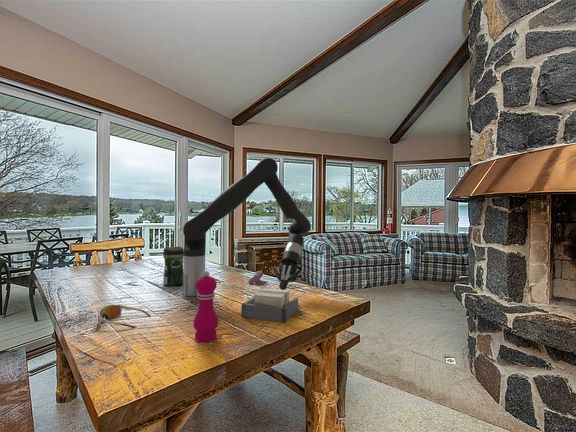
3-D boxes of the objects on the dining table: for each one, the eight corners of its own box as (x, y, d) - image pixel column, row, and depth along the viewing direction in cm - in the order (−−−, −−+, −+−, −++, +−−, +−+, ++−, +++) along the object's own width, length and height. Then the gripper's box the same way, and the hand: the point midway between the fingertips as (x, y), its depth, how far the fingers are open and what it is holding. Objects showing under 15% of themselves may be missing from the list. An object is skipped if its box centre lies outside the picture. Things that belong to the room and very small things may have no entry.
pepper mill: (196, 333, 100) (196, 268, 99) (219, 332, 100) (220, 268, 100) (190, 343, 92) (191, 273, 92) (216, 342, 93) (217, 273, 92)
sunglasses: (112, 314, 117) (114, 300, 116) (153, 321, 116) (155, 307, 116) (87, 329, 102) (89, 313, 102) (133, 337, 102) (135, 321, 102)
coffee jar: (180, 281, 167) (180, 245, 166) (186, 284, 160) (186, 247, 160) (161, 283, 161) (161, 246, 160) (166, 287, 155) (166, 248, 154)
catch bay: (285, 322, 110) (285, 309, 110) (241, 316, 115) (241, 304, 115) (297, 309, 124) (298, 297, 124) (258, 304, 129) (258, 293, 129)
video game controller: (255, 287, 162) (261, 275, 161) (247, 283, 162) (253, 271, 162) (260, 283, 171) (266, 271, 171) (252, 278, 172) (258, 267, 171)
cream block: (280, 320, 112) (280, 297, 112) (254, 317, 115) (254, 294, 115) (289, 311, 122) (289, 290, 122) (264, 308, 125) (264, 288, 125)
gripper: (275, 249, 142) (264, 283, 131) (304, 250, 138) (296, 286, 126) (279, 259, 147) (269, 292, 136) (308, 261, 143) (299, 295, 132)
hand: (282, 289), depth 131 cm, fingers closed
